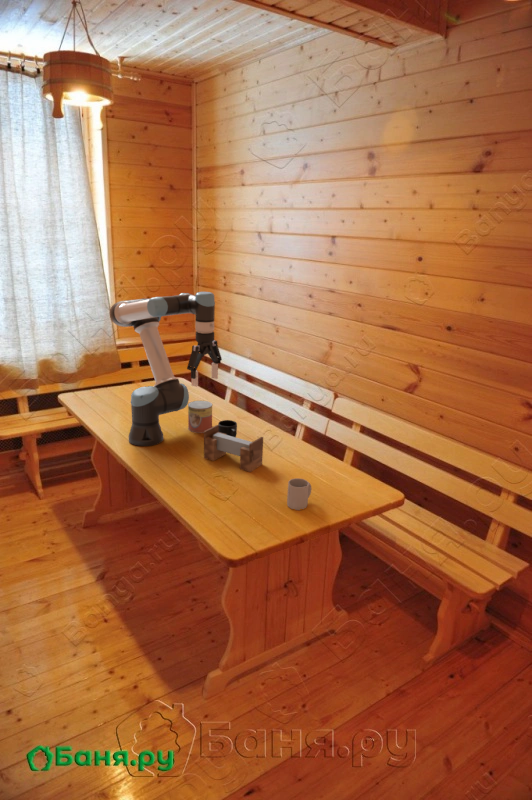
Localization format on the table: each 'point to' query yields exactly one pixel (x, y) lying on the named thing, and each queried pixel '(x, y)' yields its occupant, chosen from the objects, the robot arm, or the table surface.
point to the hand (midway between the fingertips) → (204, 382)
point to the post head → (211, 444)
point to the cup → (298, 493)
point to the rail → (230, 443)
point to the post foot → (251, 455)
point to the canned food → (199, 416)
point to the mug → (228, 427)
